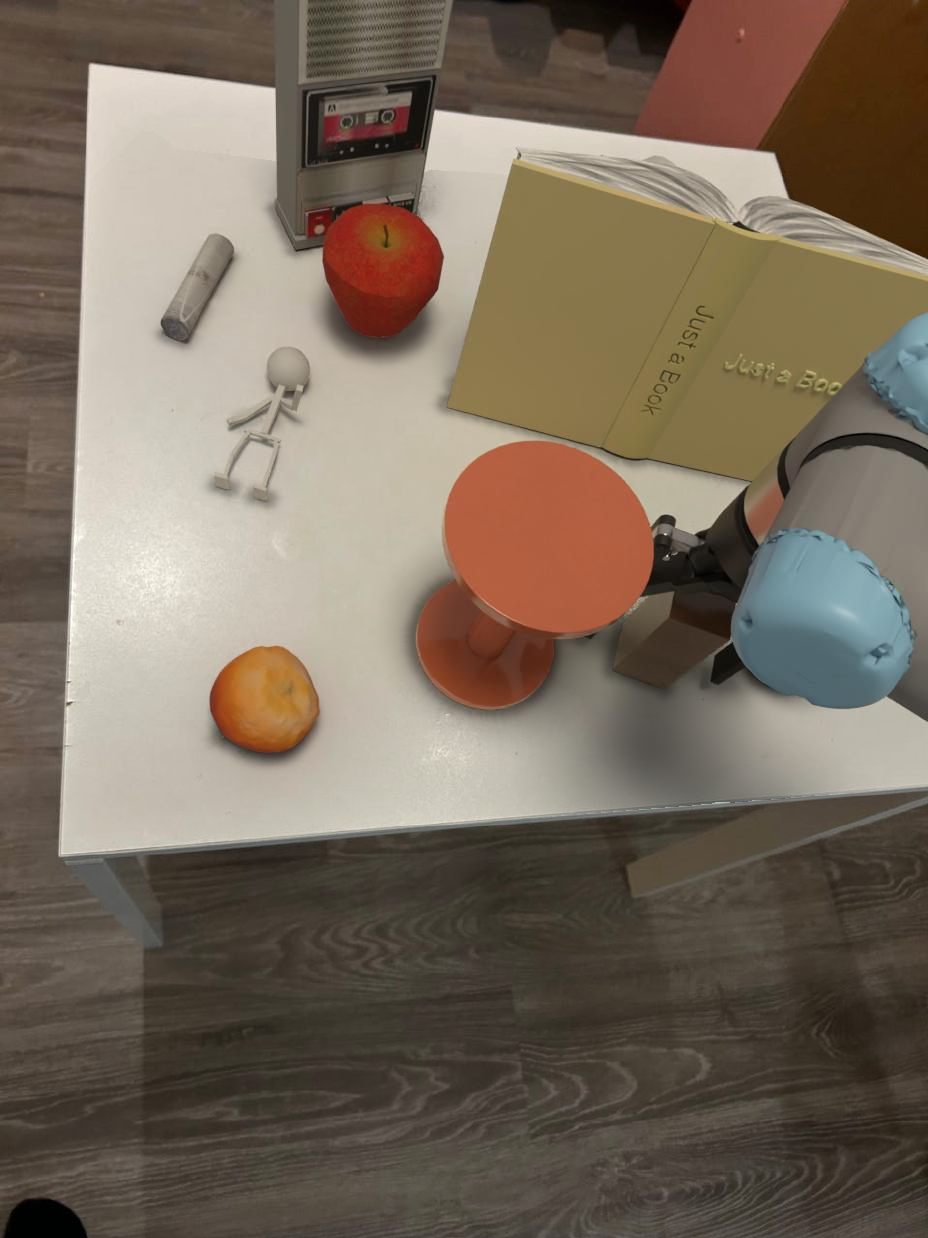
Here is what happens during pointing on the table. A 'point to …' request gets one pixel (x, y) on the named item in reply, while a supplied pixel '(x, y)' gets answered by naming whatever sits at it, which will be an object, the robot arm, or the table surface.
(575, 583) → the orange pedestal stand
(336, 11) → the cassette tape recorder
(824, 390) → the book
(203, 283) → the rod
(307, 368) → the figurine
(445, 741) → the table surface
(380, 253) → the apple
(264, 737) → the fruit
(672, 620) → the walnut block
